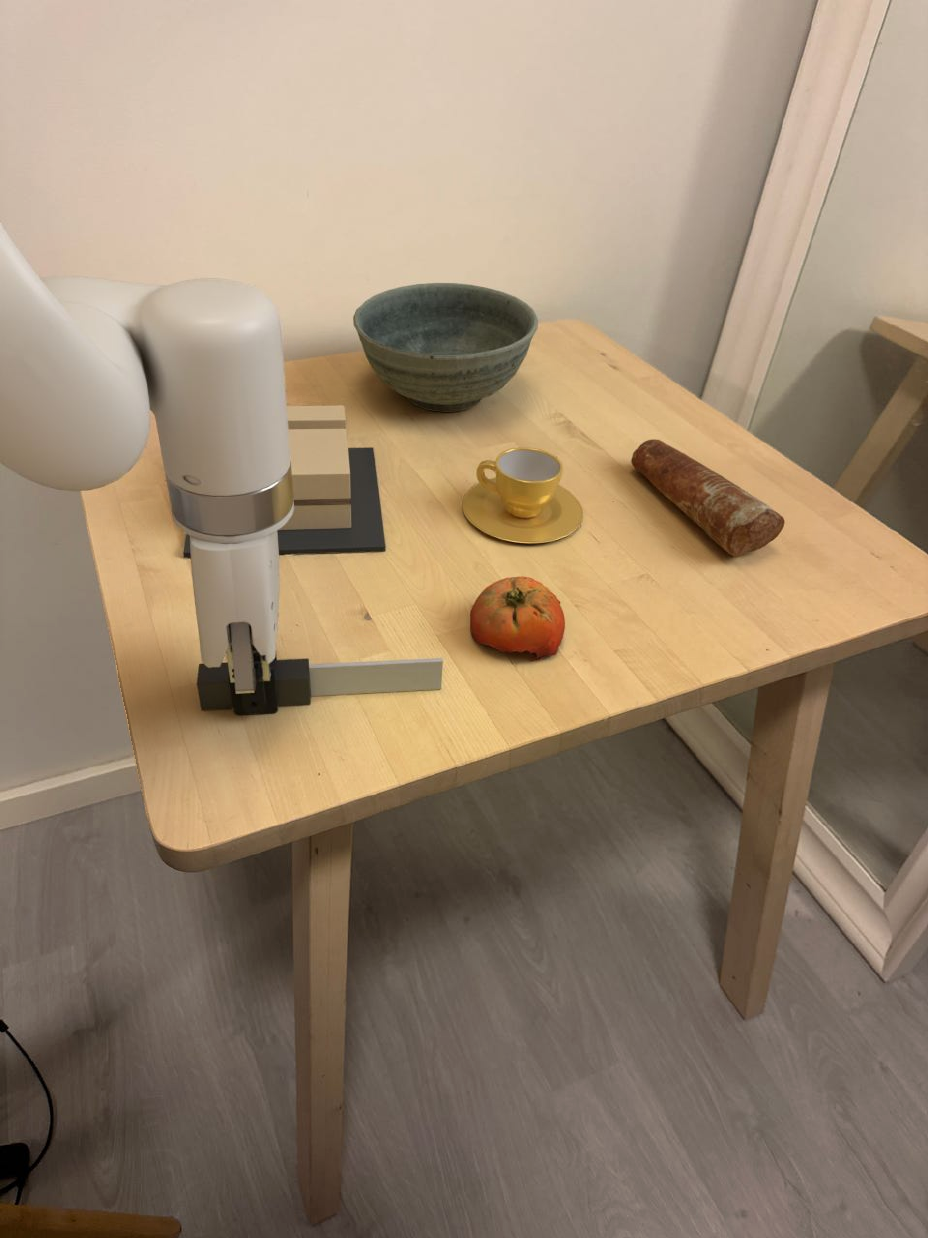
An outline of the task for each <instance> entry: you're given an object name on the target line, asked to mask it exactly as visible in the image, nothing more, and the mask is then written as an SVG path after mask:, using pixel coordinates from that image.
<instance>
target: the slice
mask: <svg viewBox="0 0 928 1238" xmlns="http://www.w3.org/2000/svg"><path fill="white" fill-rule="evenodd" d="M345 407H346V406H345V405H287V415H288V429H346V430H347V420H346V408H345Z"/></svg>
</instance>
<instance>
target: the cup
mask: <svg viewBox="0 0 928 1238" xmlns="http://www.w3.org/2000/svg"><path fill="white" fill-rule="evenodd" d="M485 470H490V471H493V472H494V473H495V476H494V477H490V478H489V477H487V475H486V473H485ZM563 470H564V467H563V463H562V461H561V460H560V459H559V458H558V457H557V456H555V454H553V453H551V452H549V451H547V450H543V449H540V448H536V447H530V446H529V447H528V446H525V447H523V446H521V447H520V446H519V447H513V448H509V449H506V450H504V451H502V452H501V453H499V454H497V456H496V458H495V460H488V459H485V460H482V461H481V462H480V463H479V464H478V466H477V467H476V478H477V481H478V483H476V484H474V485H472V487H470V488H469V489H468V490H467V491H466V493H465V494H464V496H463V498H462V503H461V507H462V511H463V514H464V516H465V518H466V519H467V520H468V522H469V523H470V524H472V525H473V526H474V527H475V528H477V529H478V530H480V531H481V532H483V533H484V534H487V535H489V536H491V537H494V538H497V539H500V540H503V541H508V542H513V543H520V544H541V543H542V544H543V543H549V542H555V541H557V540H560V539H563V538H565V537H567V536H569V535H571V534H572V533H573V532H575V531H576V530H577V529H578V528H579V527H580V525H581V524H582V522H583V518H584V510H583V506H582V505H581V503H580V501H579V499H578V498H577V497H576V496H575V495H574V494H573V493H571V491H569V490H568V489H566V488H564V487H563V486H561V485H560V481H561V479H562V474H563V472H564V471H563Z"/></svg>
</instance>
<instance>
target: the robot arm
mask: <svg viewBox="0 0 928 1238" xmlns="http://www.w3.org/2000/svg"><path fill="white" fill-rule="evenodd" d="M285 374H286V373H285V362H284V345H283V334H282V324H281V318H280V314H279V312H278V309H277V307H276V305H275V303H274V302H273V300H272V299H271V298H270V297H269V296H268V295H267V293H266V292H264V291H263V290H261V289H259V288H258V287H256V286H254V285H252V284H250V283H246V282H243V281H239V280H234V279H229V278H228V279H226V278H218V277H217V278H216V277H215V278H214V277H204V278H203V277H202V278H192V279H185V280H181V281H175V282H173V283H170V284H155V283H154V284H152V283H151V284H150V283H142V282H141V283H140V282H133V281H132V282H131V281H122V280H115V279H107V278H106V279H105V278H99V277H98V278H97V277H88V276H80V275H50V276H43V277H39V275H38V274H37V273H36V272H35V270H34V269H33V268H32V266H31V265H30V264H29V262H28V261H27V260H26V258H25V257H24V256H23V254H22V253H21V251H20V249H19V248H18V247H17V245H16V244H15V243H14V241H13V239H12V238H11V237H10V235H9V234H8V232H7V231H6V229H5V227H4V226H3V223H2V222H0V464H1V465H3V466H4V467H6V468H7V469H9V470H11V471H12V472H13V473H15V474H17V475H19V476H20V477H22V478H24V479H25V480H28V481H31V482H33V483H35V484H37V485H40V486H43V487H46V488H51V489H55V490H58V491H67V492H85V491H86V492H87V491H92V490H98V489H101V488H104V487H106V486H109V485H111V484H113V483H115V482H117V481H118V480H120V479H121V478H123V477H124V476H125V475H126V474H128V473H129V472H130V471H131V470H132V469H133V468H134V466H136V464H137V463H138V462H139V460H140V459H141V456H142V455H143V453H144V451H145V449H146V447H147V444H148V438H149V436H150V430H151V412H152V414H153V415H154V419H155V425H156V430H157V437H158V442H159V448H160V452H161V459H162V464H163V469H164V475H165V480H166V486H167V492H168V497H169V498H168V499H169V503H170V508H171V509H170V510H171V515H172V519H173V522H174V523H175V525H176V527H177V528H178V529H180V531H182V533H185V535H186V534H188V535H189V536H190V553H191V558H190V567H191V580H192V589H193V598H194V599H193V600H194V607H195V614H196V622H197V624H196V625H197V631H198V640H199V648H200V649H199V650H200V656H201V662H202V664H203V663H204V665H205V666H207V667H208V668H211V667H220V666H221V664H222V663H223V662H224V659H225V656H226V660H227V662H228V668H229V675H228V678H229V685H230V691H231V698H232V705H233V709H232V711H233V714H234V715H236V716H253V715H255V716H256V715H272V714H276V713H277V712H278V711H279V706H278V700H277V690H276V680H275V671H274V670H270V663H271V662H272V661H273V660H278V657H277V643H278V642H277V641H278V630H279V629H278V628H279V615H280V614H279V613H280V595H281V593H280V591H281V588H280V586H281V585H280V583H281V581H280V580H281V579H280V578H281V577H280V576H281V575H280V555H279V549H278V534H277V530H279V529H281V528H282V527H283V526H284V525H285V524H286V523H287V522H288V521H289V519H290V518H291V516H292V514H293V511H294V500H293V485H292V471H291V461H290V443H289V429H288V415H287V406H288V404H287V401H288V400H287V390H286V375H285ZM254 661H261V664H259V663H258V664H254Z"/></svg>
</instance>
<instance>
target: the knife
mask: <svg viewBox="0 0 928 1238" xmlns="http://www.w3.org/2000/svg"><path fill="white" fill-rule="evenodd" d="M258 663H259V664H261V661H254V664H258ZM443 667H444V659H443V657H431V658H414V659H413V658H412V659H410V658H409V659H393V660H392V659H391V660H390V659H389V660H372V661H369V660H368V661H351V662H350V661H349V662H333V663H332V662H330V663H310V658H289V659H286V658H285V659H277V660H273V661H272V662H271V663H270V670H274V671H275V680H276V690H277V700H278V707H287V706H288V707H292V706H309V705H311V704H312V697H322V696H323V697H324V696H340V695H341V696H342V695H360V694H378V693H396V692H397V693H398V692H413V691H414V692H415V691H416V692H417V691H432V690H433V691H434V690H441V689H442V683H443V682H442V681H443ZM228 675H229V668H228V661H227V662H226V661H225V662H224V661H223V662H222V664H221V666H220V667H211V668H208V667H207V666H205V665H204V663H203V662H202V663H199V664H198V672H197V677H196V678H197V679H196V687H197V688H196V689H197V694H198V699H199V704H200V709H201V711H218V710H220V711H221V710H233V705H232V698H231V691H230V685H229V678H228Z"/></svg>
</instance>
